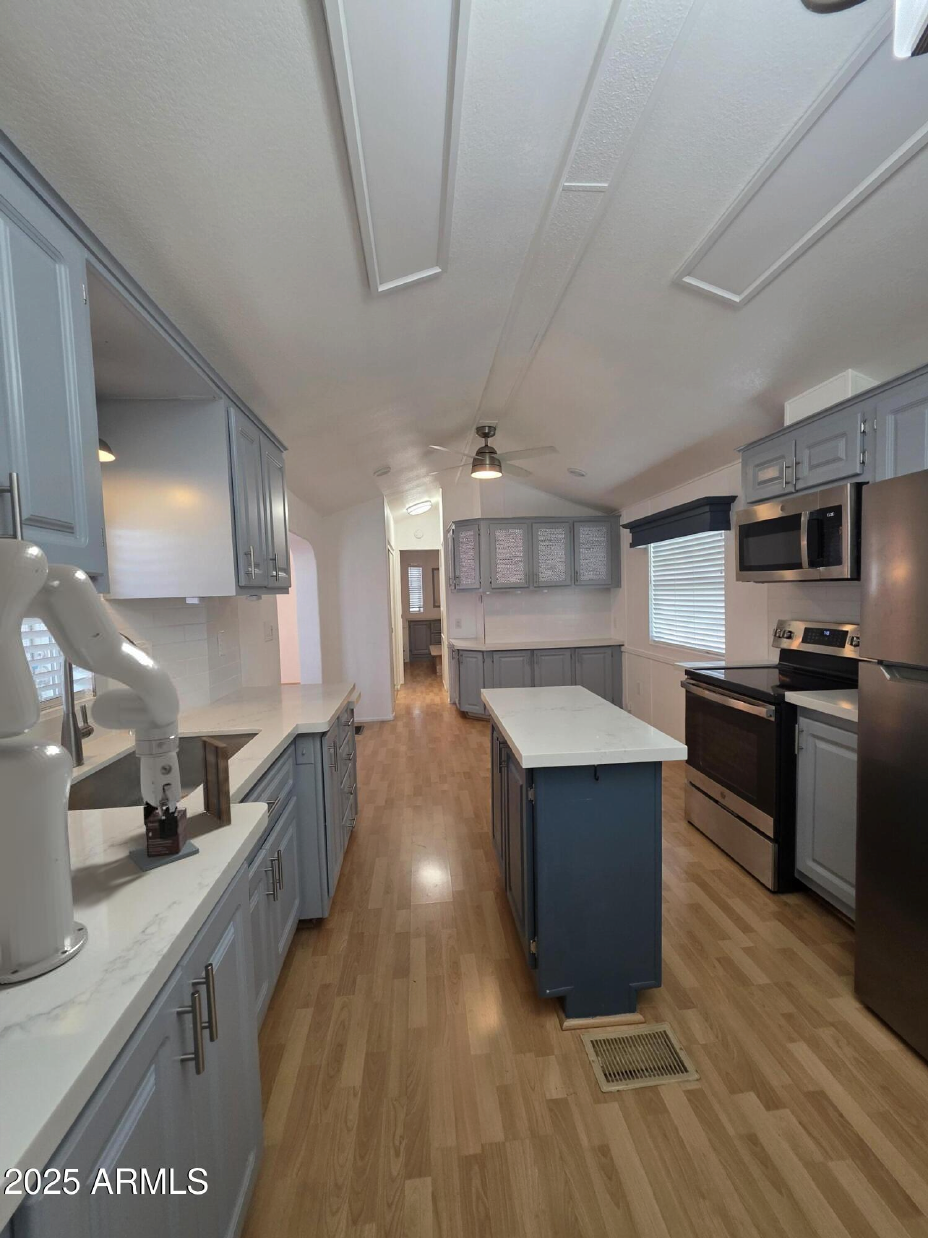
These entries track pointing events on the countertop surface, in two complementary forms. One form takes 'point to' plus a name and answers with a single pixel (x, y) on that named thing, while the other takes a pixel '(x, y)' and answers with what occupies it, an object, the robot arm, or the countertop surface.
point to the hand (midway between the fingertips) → (160, 830)
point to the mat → (152, 862)
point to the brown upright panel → (216, 780)
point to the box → (170, 844)
